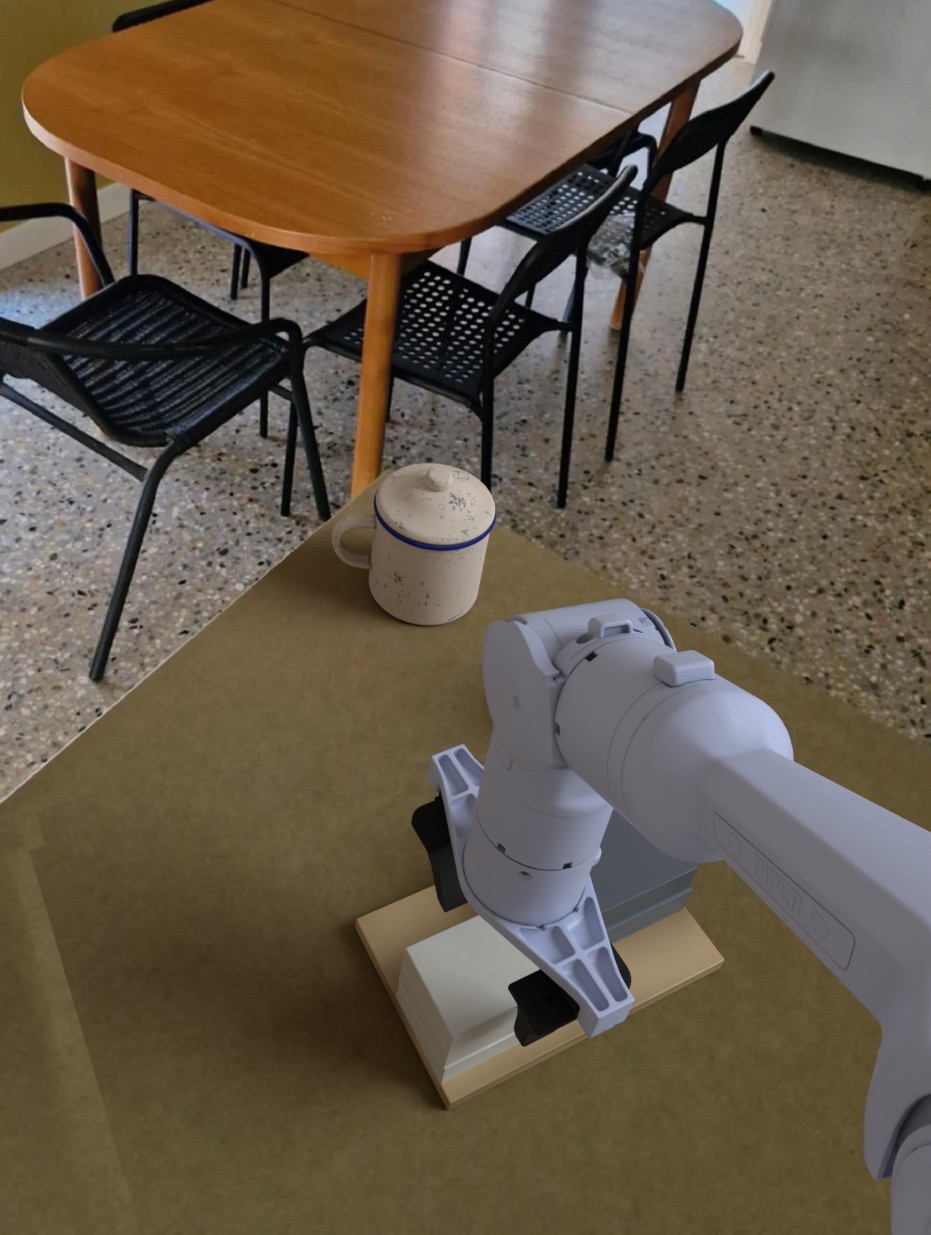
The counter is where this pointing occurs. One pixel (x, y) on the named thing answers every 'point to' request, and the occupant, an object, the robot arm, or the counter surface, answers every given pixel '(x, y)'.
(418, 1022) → the white books
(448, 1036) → the white book
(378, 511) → the teacup with lid
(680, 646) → the counter surface
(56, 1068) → the counter surface
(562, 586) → the counter surface
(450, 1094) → the shelf board
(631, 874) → the grey books
